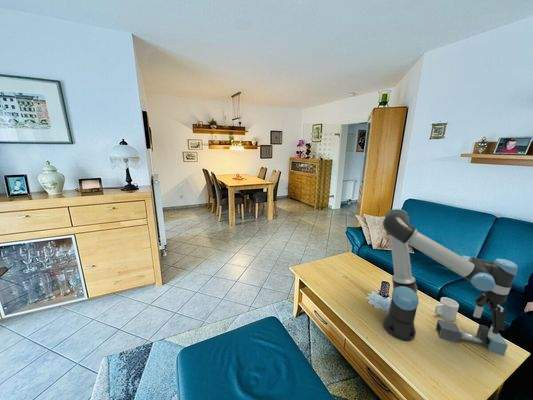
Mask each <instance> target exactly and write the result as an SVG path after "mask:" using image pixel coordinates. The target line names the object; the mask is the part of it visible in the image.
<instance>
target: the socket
mask: <svg viewBox="0 0 533 400" xmlns="http://www.w3.org/2000/svg"><path fill="white" fill-rule="evenodd" d="M488 339H489V340H490V342H489V345H487V351H488V352H490V353H494V354H498V355H500V356H501V355H502V356H505V354H506V351H507V349H508V346H509V344H508V343H507V342H506V340H505V339H504V337H502V335H501V334H500V333H499V332H498V334H497V336H496V339H494V338H490V337H488Z"/></svg>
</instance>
